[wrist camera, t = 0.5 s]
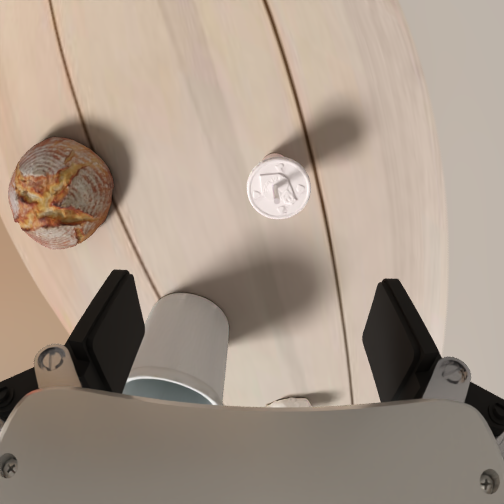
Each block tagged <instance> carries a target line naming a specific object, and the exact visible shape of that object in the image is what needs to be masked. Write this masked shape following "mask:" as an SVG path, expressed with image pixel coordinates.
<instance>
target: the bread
mask: <svg viewBox="0 0 504 504" xmlns="http://www.w3.org/2000/svg"><path fill="white" fill-rule="evenodd" d="M113 183H114V182H113V178H112V175H111V173H110V171H109V168H108V167H107V165H106V164H105V163H104V161H103V160H102V159H101V158H100V157H99V156H98V155H97V154H96V153H94V152H93V151H92V150H91V149H90V148H87V147H85V146H84V145H82V144H79V143H78V142H76V141H74V140H72V139H68V138H63V137H60V138H59V137H50V138H47V139H46V140H44V141H42V142H40V143H38V144H36V145H34V146H33V147H32V148H31V149H30V150H28V151H27V152H26V154H25V155H24V156H23V157H22V158H21V159H20V161H19V162H18V164H17V167H16V169H15V171H14V173H13V175H12V178H11V181H10V184H9V191H8V198H9V204H10V207H11V210H12V213H13V218H14V221H15V222H18V223H19V224H20V226H21V229H22V230H23V231H25V232H26V233H27V234H28V235H29V236H30V237H31V238H32V239H34V240H35V241H36V242H38V243H40V244H41V245H43V246H45V247H48V248H50V249H65V248H68V247H73V246H76V245H77V243H78V244H79V243H81V242H83V241H84V240H86V239H87V238H88V237H90V236H91V235H92V234H93V233H94V232H95V231H96V229H97V228H98V227H99V226H100V225H101V224H102V223H104V222H105V219H106V217H107V214H108V211H109V209H110V206H111V200H112V190H113V188H114V185H113Z"/></svg>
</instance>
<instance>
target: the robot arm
mask: <svg viewBox="0 0 504 504" xmlns="http://www.w3.org/2000/svg"><path fill="white" fill-rule="evenodd" d="M144 335H145V325H144V321H143V317H142V312H141V308H140V304H139V299H138V295H137V290H136V286H135V281H134V277H133V275H132V274H129V271H127V270H113V271H112V272H111V274H110V275H109V276H108V278H107V279H106V281H105V282H104V284H103V285H102V287H101V288H100V290H99V291H98V293H97V294H96V296H95V297H94V299H93V300H92V302H91V303H90V305H89V306H88V308H87V309H86V311H85V313H84V314H83V316H82V317H81V319H80V320H79V322H78V324H77V325H76V327H75V329H74V330H73V332H72V333H71V335H70V337H69V339H68V340H67V342H66V344H65V345H61V344H51V345H47V346H45V347H44V348H42V349H41V350H40V351H39V352H38V353H37V354H36V356H35V359H34V367H33V368H31V369H29V370H27V371H24V372H22V373H20V374H17V375H15V376H13V377H11V378H9V379H6V380H4V381H2V382H0V504H504V399H501V398H500V397H498V396H496V395H494V394H492V393H491V392H489V391H487V390H485V389H483V388H481V387H479V386H477V385H476V384H474V383H472V382H470V380H471V373H470V370H469V368H468V367H467V365H466V364H465V363H464V362H462V361H461V360H459V359H457V358H454V357H444V358H442V357H441V355H440V353H439V351H438V349H437V347H436V345H435V343H434V341H433V339H432V337H431V335H430V334H429V332H428V330H427V328H426V326H425V324H424V322H423V321H422V319H421V317H420V315H419V313H418V312H417V310H416V308H415V306H414V305H413V303H412V301H411V299H410V298H409V296H408V294H407V293H406V291H405V289H404V287H403V286H402V284H401V282H400V281H399V280H398V279H383V281H382V282H380V283H378V286H377V289H376V293H375V296H374V300H373V303H372V306H371V310H370V313H369V316H368V319H367V323H366V326H365V329H364V332H363V336H362V340H363V345H364V348H365V351H366V354H367V357H368V360H369V364H370V367H371V370H372V373H373V377H374V380H375V384H376V387H377V390H378V394H379V397H380V401H381V403H370V404H357V405H344V406H326V407H240V406H222V405H208V404H196V403H186V402H177V401H168V400H160V399H153V398H146V397H139V396H132V395H126V394H122V393H123V390H124V387H125V384H126V382H127V379H128V376H129V374H130V371H131V368H132V366H133V363H134V360H135V358H136V355H137V353H138V350H139V348H140V345H141V343H142V340H143V337H144Z"/></svg>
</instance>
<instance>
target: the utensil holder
mask: <svg viewBox="0 0 504 504" xmlns="http://www.w3.org/2000/svg"><path fill="white" fill-rule="evenodd" d="M144 325H145V335H144V337H143V340H142V343H141V345H140V348H139V350H138V353H137V355H136V358H135V360H134V363H133V366H132V368H131V371H130V374H129V376H128V379H127V382H126V384H125V387H124V390H123V393H122V394H126V395H132V396H139V397H146V398H153V399H160V400H168V401H177V402H186V403H196V404H208V405H222V406H223V404H222V400H223V390H224V380H225V370H226V360H227V350H228V337H229V324H228V321H227V318H226V316H225V314H224V313H223V311H222V310H221V309H220V308H219V307H218V306H217V305H215V304H214V303H213V302H211V301H210V300H208V299H206V298H204V297H201V296H198V295H195V294H190V293H174V294H170V295H167V296H165V297H163V298H161V299H160V300H159V301H157V302H156V303H155V305H154V306H153V308H152V310H151V312H150V314H149V316H148V318H147V320H146V322H145V324H144Z"/></svg>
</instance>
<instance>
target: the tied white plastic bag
mask: <svg viewBox="0 0 504 504" xmlns="http://www.w3.org/2000/svg"><path fill="white" fill-rule="evenodd" d="M265 407H312V406H311V404H310V402H309V401H308V400H307V399H306V398H293V397H290V398H288V399H283V400H279V401H274V402H273V403H271V404H270V405H267V406H265Z"/></svg>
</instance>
